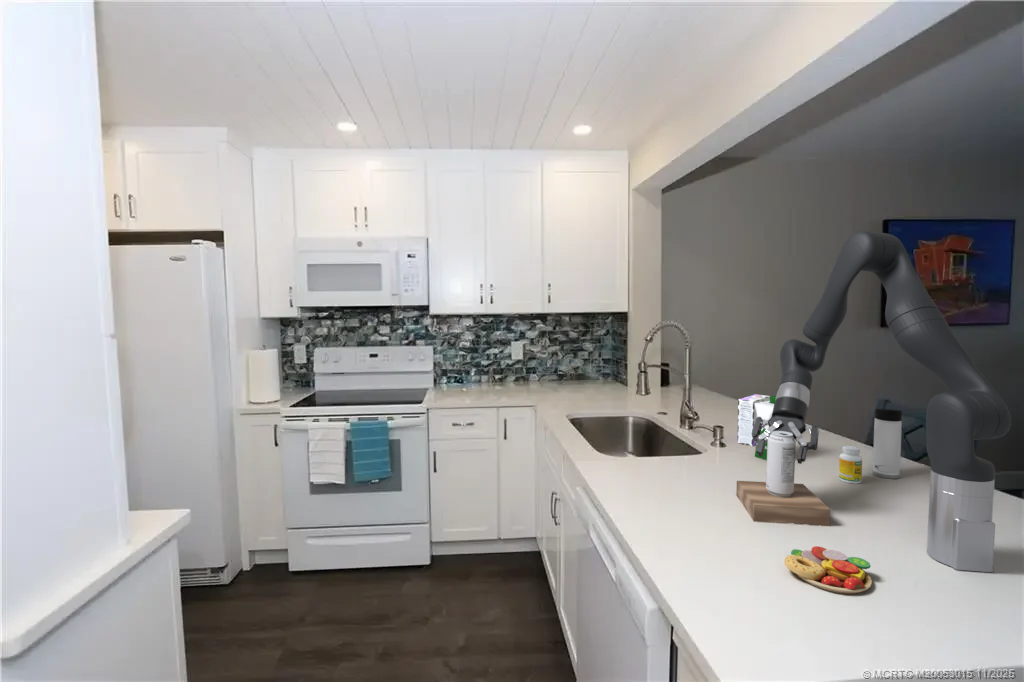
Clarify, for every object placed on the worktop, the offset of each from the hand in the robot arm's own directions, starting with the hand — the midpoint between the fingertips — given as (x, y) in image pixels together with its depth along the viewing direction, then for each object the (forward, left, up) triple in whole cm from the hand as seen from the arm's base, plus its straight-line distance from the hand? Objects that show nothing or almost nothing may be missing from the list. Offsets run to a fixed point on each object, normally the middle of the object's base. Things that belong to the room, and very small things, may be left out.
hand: (779, 458), depth 120 cm
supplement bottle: (+25, -27, -13) cm, 39 cm away
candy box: (+64, -12, -13) cm, 67 cm away
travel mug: (+31, -39, -13) cm, 51 cm away
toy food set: (-29, 0, -14) cm, 32 cm away
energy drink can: (+1, -1, -9) cm, 9 cm away
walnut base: (+1, -1, -13) cm, 13 cm away
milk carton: (+44, -12, -13) cm, 48 cm away
